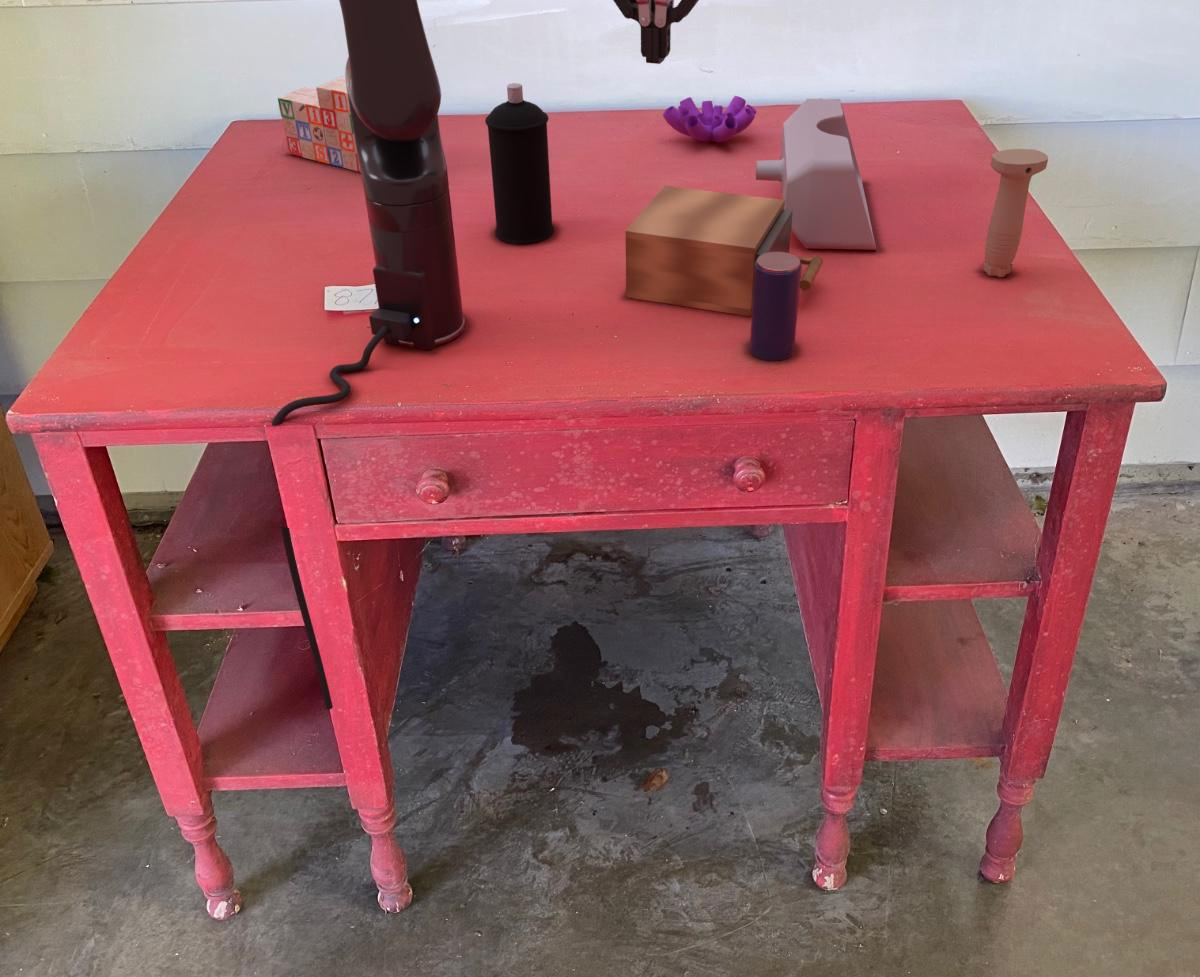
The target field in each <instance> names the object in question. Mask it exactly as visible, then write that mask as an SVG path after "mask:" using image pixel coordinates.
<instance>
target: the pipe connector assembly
mask: <svg viewBox="0 0 1200 977" xmlns="http://www.w3.org/2000/svg"><path fill="white" fill-rule="evenodd" d="M746 103H747V100H746V99H745V98H743V97H741V96H738V95H734V96H733V97H732V99H731V100H730V102H729V104H728V105H727V107H726V108H725V110H724V108H723V105H717V104H716V105H715V104H713V101H712V100H703V101H702V102H701V111H700V110H699V109H698V107H697V106H696V103H695V102H694V100H693V98H692V97H691V96H689V97H686V98H684V99H681V101H679V105H678V106H677V107H675V106H674V105H671V106H668V108H666V109H665V110H664V112H663V113H662V117H663V119H664V120H665V122H666V123H667V124H668V126H670V127H671V128H672V129H673V130H675V131H676V132H678V133H680V134H682V135H684V136H687V137H691V138H693V139H694V140H695V141H699V142H706V143H707V142H709V143H711V142H713V143H724V142H728V141H729V140H730V139H732V138H733V137H734V136H735V135H737V134H740V133H742V132H743V131H744V130H746V129H747V128H748V127H749V126H750V125H751V124H752V123H753V121H754V120H755V118H756V114H757V109H756V108H754V107H753V106H752V105H750V104H746Z"/></svg>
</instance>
